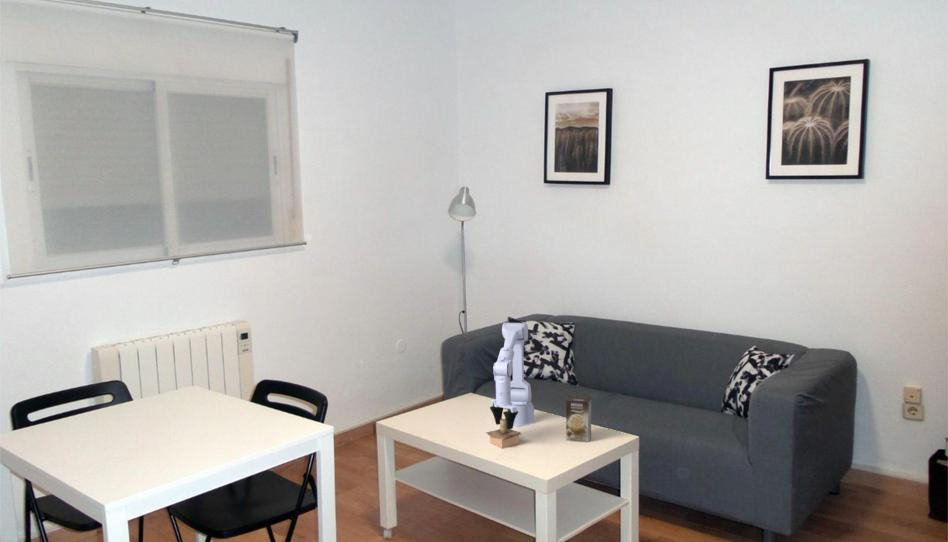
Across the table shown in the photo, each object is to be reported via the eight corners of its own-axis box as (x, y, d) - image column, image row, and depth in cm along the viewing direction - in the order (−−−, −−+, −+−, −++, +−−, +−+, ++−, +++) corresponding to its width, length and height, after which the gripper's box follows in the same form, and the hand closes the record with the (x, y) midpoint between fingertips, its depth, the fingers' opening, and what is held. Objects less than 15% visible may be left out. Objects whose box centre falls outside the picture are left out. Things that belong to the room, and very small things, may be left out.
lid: (504, 429, 302) (504, 415, 302) (520, 434, 296) (520, 419, 295) (487, 434, 297) (487, 420, 296) (503, 440, 290) (503, 425, 289)
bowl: (507, 440, 302) (507, 430, 302) (519, 445, 295) (518, 435, 295) (490, 444, 298) (490, 434, 297) (502, 449, 291) (501, 439, 291)
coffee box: (565, 440, 299) (564, 400, 298) (569, 435, 305) (568, 396, 304) (589, 442, 296) (588, 401, 295) (592, 437, 302) (591, 397, 301)
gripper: (484, 389, 298) (485, 423, 300) (505, 397, 286) (506, 433, 288) (499, 387, 302) (500, 420, 304) (520, 394, 290) (521, 429, 291)
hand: (504, 426), depth 296 cm, fingers open, 7 cm apart
